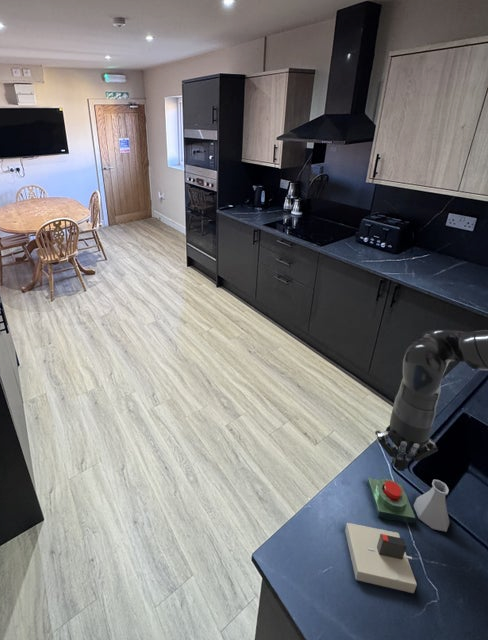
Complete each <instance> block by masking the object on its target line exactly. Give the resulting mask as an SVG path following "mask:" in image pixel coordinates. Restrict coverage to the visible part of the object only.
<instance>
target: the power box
mask: <svg viewBox="0 0 488 640" xmlns="http://www.w3.org/2000/svg"><path fill="white" fill-rule="evenodd" d="M386 481H393V482H395V483H396V484H397V485H398V486H399V487H400V488H401V491H402V494H401V497H400V499H399V500H397V501H395V500H392V499H390V498H389V497H388V496H387V495H386V494H385V492H384V485H385V482H386ZM366 484H367V485H366V486H367V489H368V491H369V495H370V497H371V501H372V504H373V507H374V510H375V513H376V516H377V518H382V519H387V520H390V521H397V522H401V523H407V524H412V525H414V524H415V521H416V516H415V513H414V511H413V507H412V506H411V504H410V501H409V497H408V495H407V492H406V490H405V489H404V486H403V484H402V483H399V482H396V481H394V480H393V479H389V478H381V479H377V478H371V477H368V478H367V483H366Z"/></svg>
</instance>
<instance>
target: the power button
mask: <svg viewBox="0 0 488 640" xmlns="http://www.w3.org/2000/svg"><path fill="white" fill-rule="evenodd" d="M393 481H394V480H392V481H386V482H385V485H384V492H385V494H386V495H387V496H388V497H389V498H390V499H392V500H395V501H397V500H399V499H400V497H401V494H402V491H401V488H400V487H399V486H398V485H397V484H396V483H397V482H396V481H394V482H393ZM395 482H396V483H395Z"/></svg>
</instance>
